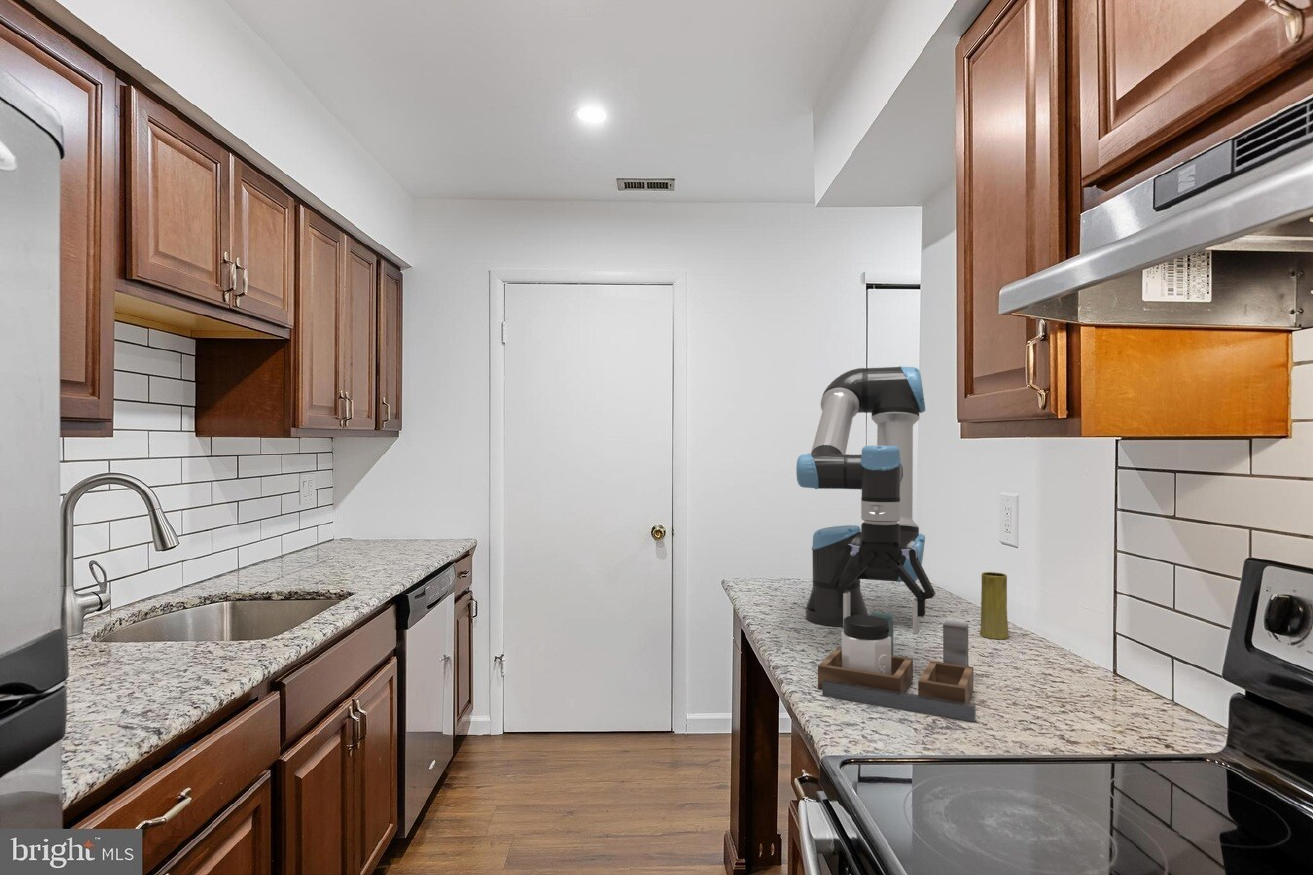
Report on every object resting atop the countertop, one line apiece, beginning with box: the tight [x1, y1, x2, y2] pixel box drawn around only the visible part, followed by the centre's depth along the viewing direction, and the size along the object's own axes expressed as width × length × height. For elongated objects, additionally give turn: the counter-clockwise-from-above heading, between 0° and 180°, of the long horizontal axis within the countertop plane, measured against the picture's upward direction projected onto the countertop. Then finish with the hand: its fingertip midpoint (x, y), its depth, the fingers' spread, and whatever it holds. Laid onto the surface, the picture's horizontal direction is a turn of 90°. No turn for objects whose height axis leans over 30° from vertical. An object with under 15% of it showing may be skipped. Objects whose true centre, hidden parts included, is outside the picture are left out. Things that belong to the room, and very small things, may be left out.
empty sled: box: [917, 619, 974, 703], centre depth 132 cm, size 21×7×10 cm, turn 151°
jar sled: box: [817, 611, 914, 693], centre depth 139 cm, size 21×14×10 cm
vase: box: [979, 571, 1010, 640], centre depth 168 cm, size 6×6×14 cm
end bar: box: [821, 680, 977, 723], centre depth 124 cm, size 2×25×2 cm, turn 61°
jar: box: [841, 615, 891, 675], centre depth 135 cm, size 9×8×12 cm
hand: (880, 628), depth 146 cm, fingers open, 13 cm apart
